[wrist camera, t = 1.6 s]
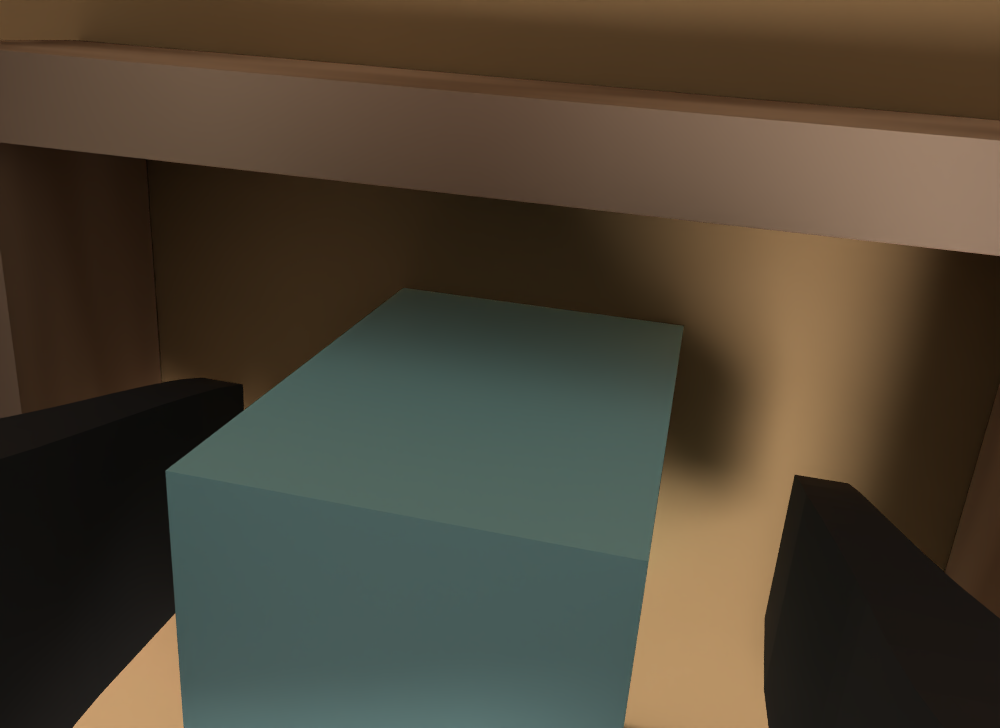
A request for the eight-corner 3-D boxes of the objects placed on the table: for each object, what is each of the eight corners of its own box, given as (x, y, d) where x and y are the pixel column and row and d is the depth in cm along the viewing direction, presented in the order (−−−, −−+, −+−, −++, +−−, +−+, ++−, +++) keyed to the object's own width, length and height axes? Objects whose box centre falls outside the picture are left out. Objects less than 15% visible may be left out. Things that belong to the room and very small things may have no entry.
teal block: (683, 324, 12) (647, 560, 7) (646, 575, 14) (592, 940, 8) (404, 287, 13) (165, 471, 7) (396, 527, 14) (190, 830, 9)
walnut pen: (1170, 135, 10) (1338, 170, 7) (967, 757, 13) (1029, 944, 11) (75, 40, 13) (-104, 40, 10) (125, 576, 16) (0, 688, 13)
